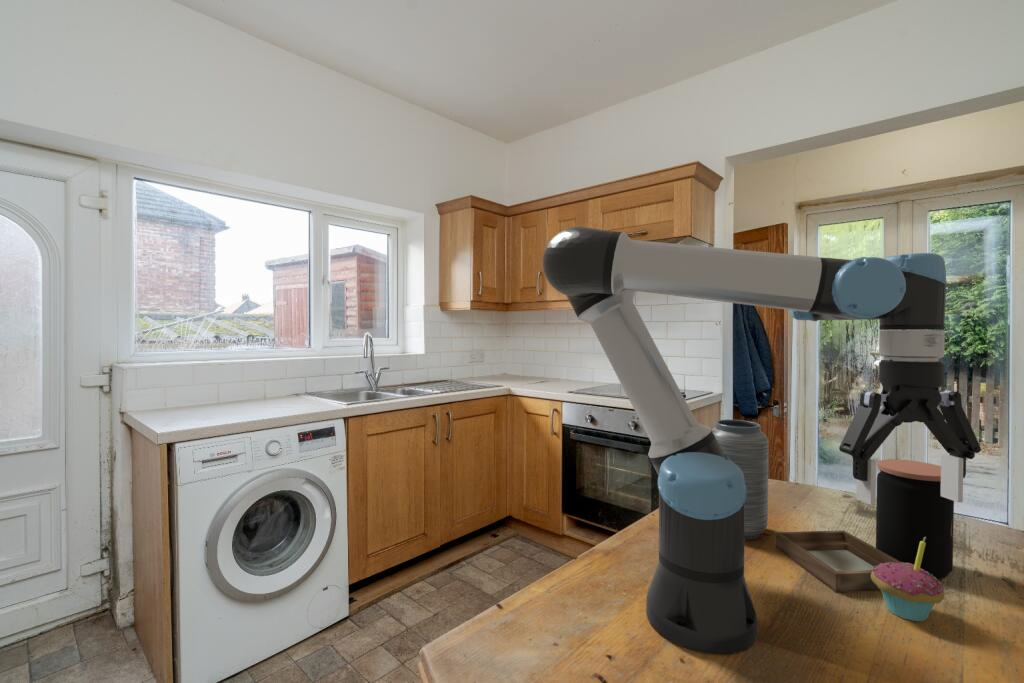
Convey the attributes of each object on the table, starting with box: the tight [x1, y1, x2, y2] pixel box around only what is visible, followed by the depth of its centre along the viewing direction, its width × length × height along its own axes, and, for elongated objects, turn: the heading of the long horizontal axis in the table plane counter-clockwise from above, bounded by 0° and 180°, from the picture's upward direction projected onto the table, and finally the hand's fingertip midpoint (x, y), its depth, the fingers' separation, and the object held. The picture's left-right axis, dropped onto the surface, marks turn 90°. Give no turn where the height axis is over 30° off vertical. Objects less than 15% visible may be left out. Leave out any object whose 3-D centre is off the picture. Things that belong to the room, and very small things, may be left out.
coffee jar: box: [875, 458, 955, 580], centre depth 86 cm, size 11×11×18 cm
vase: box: [711, 419, 770, 541], centre depth 101 cm, size 12×12×23 cm
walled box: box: [775, 529, 902, 593], centre depth 86 cm, size 14×16×3 cm
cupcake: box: [871, 537, 945, 622], centre depth 72 cm, size 9×8×12 cm
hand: (908, 500), depth 72 cm, fingers open, 13 cm apart
